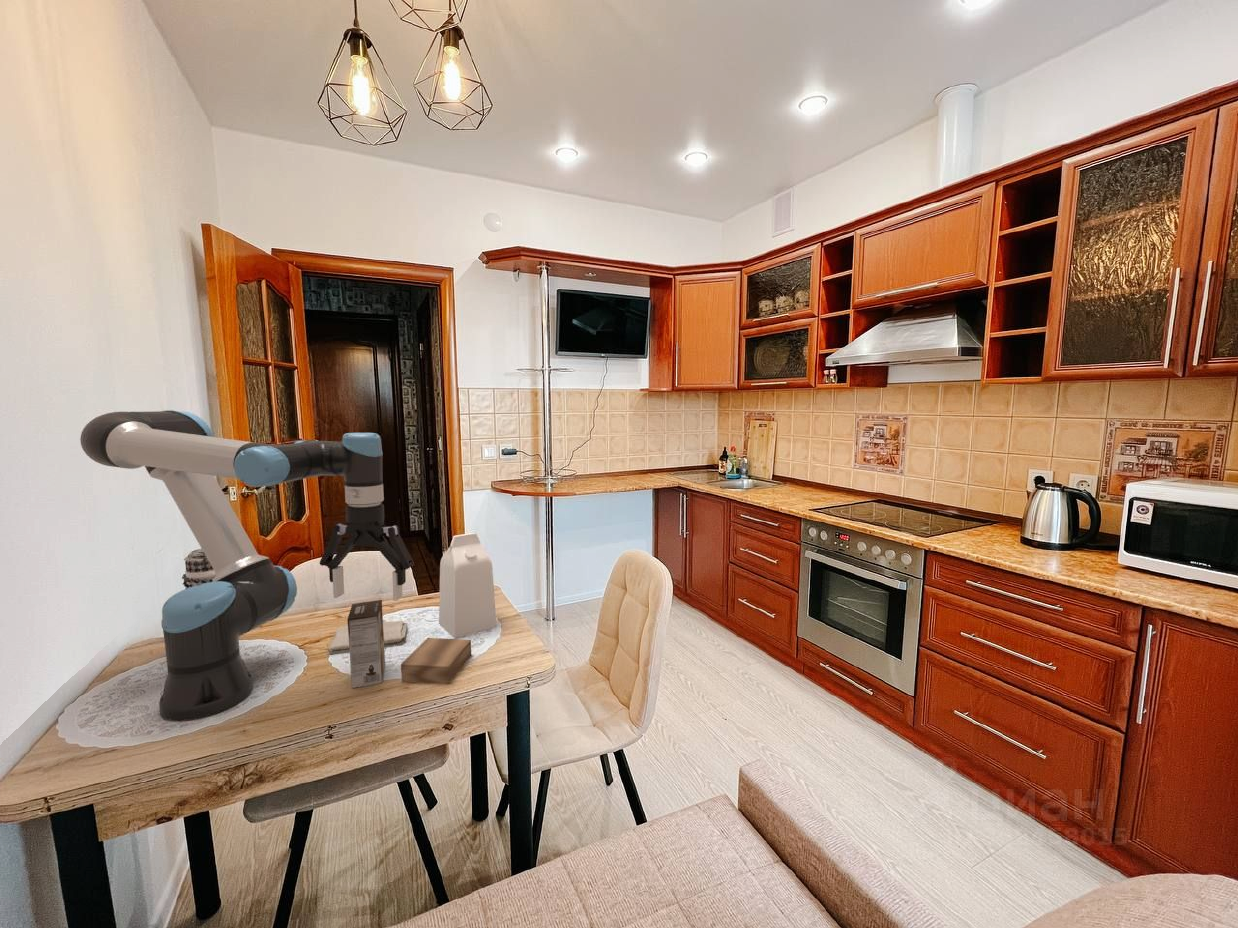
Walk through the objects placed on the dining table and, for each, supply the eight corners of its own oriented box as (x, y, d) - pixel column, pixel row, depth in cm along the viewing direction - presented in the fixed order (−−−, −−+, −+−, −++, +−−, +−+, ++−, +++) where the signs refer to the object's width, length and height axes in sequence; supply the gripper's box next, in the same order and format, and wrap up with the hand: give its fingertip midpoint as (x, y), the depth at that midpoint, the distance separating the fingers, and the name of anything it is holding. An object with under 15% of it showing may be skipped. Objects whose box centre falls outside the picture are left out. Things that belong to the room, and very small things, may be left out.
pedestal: (401, 681, 113) (400, 664, 113) (428, 653, 126) (427, 637, 126) (449, 683, 112) (448, 666, 112) (471, 655, 125) (470, 639, 125)
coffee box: (355, 668, 119) (351, 602, 117) (385, 663, 121) (382, 598, 119) (351, 689, 110) (346, 618, 108) (383, 683, 112) (379, 613, 111)
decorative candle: (188, 644, 130) (178, 549, 127) (233, 633, 136) (225, 543, 133) (190, 658, 123) (180, 558, 120) (237, 645, 129) (229, 550, 126)
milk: (479, 613, 150) (476, 527, 147) (496, 626, 142) (494, 535, 138) (438, 624, 143) (435, 533, 140) (454, 638, 134) (451, 542, 131)
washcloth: (406, 646, 131) (405, 635, 130) (327, 657, 125) (326, 645, 124) (408, 627, 142) (407, 616, 141) (335, 636, 136) (335, 625, 135)
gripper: (298, 505, 108) (303, 600, 110) (412, 509, 106) (414, 606, 109) (321, 498, 115) (325, 588, 118) (428, 502, 114) (430, 593, 116)
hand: (368, 597), depth 113 cm, fingers open, 13 cm apart
